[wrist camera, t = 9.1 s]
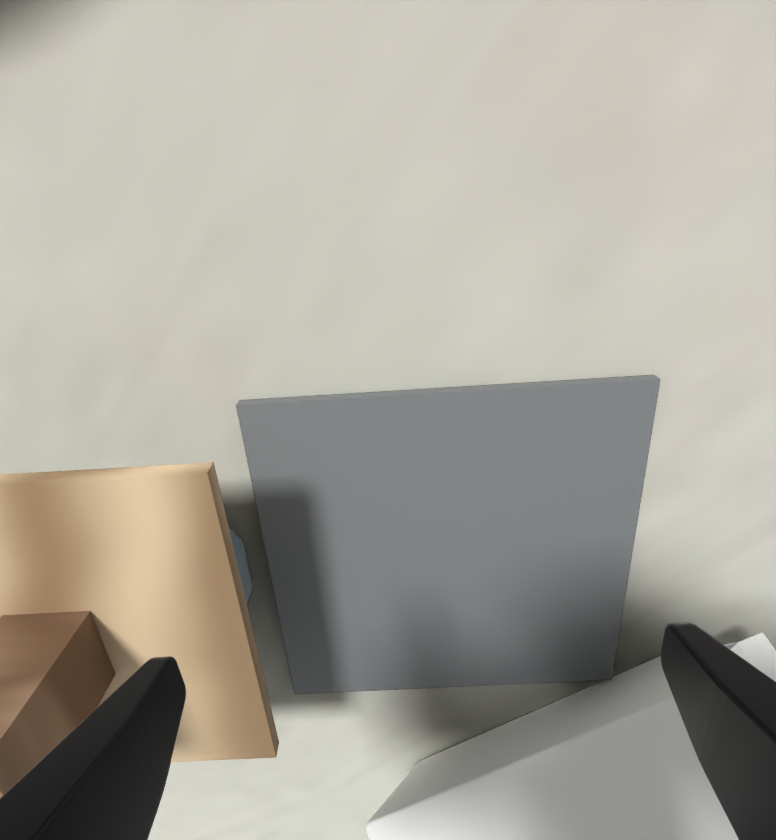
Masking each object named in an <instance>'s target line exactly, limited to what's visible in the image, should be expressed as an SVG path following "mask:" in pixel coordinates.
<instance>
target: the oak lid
mask: <svg viewBox="0 0 776 840" xmlns="http://www.w3.org/2000/svg"><path fill="white" fill-rule="evenodd" d="M166 656H171V657H174V658H175V659H176V661H177V664H178V667H179V669H180V672H181V675H182V678H183V680H184V683H185V687H186V699H185V704H184V708H183V712H182V717H181V721H180V725H179V729H178V734H177V738H176V742H175V746H174V751H173V755H172V759H171V762H182V761H205V760H228V759H252V758H275V757H276V755H277V750H278V745H279V741H278V736H277V732H276V728H275V723H274V719H273V715H272V711H271V706H270V702H269V698H268V693H267V689H266V685H265V681H264V676H263V672H262V668H261V664H260V659H259V655H258V651H257V646H256V642H255V638H254V634H253V629H252V625H251V621H250V616H249V612H248V608H247V604H246V599H245V595H244V591H243V586H242V582H241V578H240V574H239V569H238V565H237V561H236V557H235V552H234V548H233V544H232V539H231V535H230V531H229V527H228V522H227V518H226V514H225V509H224V505H223V501H222V497H221V492H220V488H219V484H218V479H217V475H216V471H215V467H214V462H211V463H193V464H176V465H159V466H142V467H124V468H107V469H90V470H73V471H55V472H38V473H21V474H4V475H0V798H1V797H2V796H3V795H4V794H5V793H6V792H7V791H8V790H9V789H11V788H12V787H13V786H14V785H15V784H16V783H17V782H18V781H19V780H20V779H21V778H22V777H23V776H24V775H26V774H27V773H28V772H29V771H30V770H31V769H32V768H33V767H34V766H35V765H36V764H37V763H38V762H39V761H41V760H42V759H43V758H44V757H45V756H46V755H47V754H48V753H49V752H50V751H51V750H52V749H53V748H54V747H56V746H57V745H58V744H59V743H60V742H61V741H62V740H63V739H64V738H65V737H66V736H67V735H68V734H69V733H71V732H72V731H73V730H74V729H75V728H76V727H77V726H78V725H79V724H80V723H81V722H82V721H83V720H84V719H86V718H87V717H88V716H89V715H90V714H91V713H92V712H93V711H94V710H95V709H96V708H97V707H98V706H99V705H101V704H102V703H103V702H104V701H105V700H106V699H107V698H108V697H109V696H110V695H111V694H112V693H113V692H114V691H116V690H117V689H118V688H119V687H120V686H121V685H122V684H123V683H124V682H125V681H126V680H127V679H128V678H129V677H131V676H132V675H133V674H134V673H135V672H136V671H137V670H138V669H139V668H140V667H141V666H142V665H143V664H144V663H146V662H147V661H148V660H149V659H151V658H154V657H166Z"/></svg>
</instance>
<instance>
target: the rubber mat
mask: <svg viewBox="0 0 776 840" xmlns="http://www.w3.org/2000/svg"><path fill="white" fill-rule="evenodd" d="M659 385H660V379H659V378H658V377H657V376H655V375H643V376H626V377H610V378H594V379H577V380H561V381H545V382H529V383H512V384H496V385H480V386H463V387H447V388H431V389H415V390H398V391H382V392H366V393H349V394H333V395H317V396H300V397H284V398H268V399H252V400H239V402H238V403H237V405H236V407H237V412H238V417H239V422H240V427H241V432H242V437H243V442H244V447H245V452H246V457H247V462H248V466H249V471H250V476H251V481H252V486H253V491H254V496H255V501H256V506H257V511H258V516H259V521H260V526H261V531H262V536H263V540H264V545H265V550H266V555H267V560H268V565H269V570H270V575H271V580H272V585H273V590H274V595H275V600H276V605H277V609H278V614H279V619H280V624H281V629H282V634H283V639H284V644H285V649H286V654H287V659H288V664H289V669H290V674H291V678H292V683H293V688H294V693H295V694H312V693H333V692H355V691H376V690H398V689H419V688H441V687H463V686H484V685H506V684H527V683H549V682H570V681H592V680H612V674H613V668H614V662H615V656H616V650H617V644H618V637H619V631H620V625H621V619H622V613H623V607H624V600H625V594H626V588H627V582H628V576H629V570H630V563H631V557H632V551H633V545H634V539H635V533H636V527H637V520H638V514H639V508H640V502H641V496H642V490H643V483H644V477H645V471H646V465H647V459H648V453H649V446H650V440H651V434H652V428H653V422H654V416H655V410H656V403H657V397H658V391H659Z"/></svg>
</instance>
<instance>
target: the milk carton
mask: <svg viewBox="0 0 776 840" xmlns="http://www.w3.org/2000/svg"><path fill="white" fill-rule="evenodd" d="M723 645H725V646H726V647H727V648H729V649H730V650H732V651H733V652H735V653H736V654H737V655H739V656H740V657H742V658H743V659H744V660H746V661H747V662H749V663H750V664H752V665H753V666H754V667H756V668H757V669H759V670H760V671H761V672H763V673H764V674H766V675H767V676H769V677H770V678H771V679H773V680H774V681H776V650H775V649H774V647H773V646H772V644H771V643H770V642H769V640H768V639H767V637H766V636H765V635H764V634H763V633H762V632H760V633H758V634H756V635H753V636H751V637H749V638H746V639H744V640H742V641H739V642H736V643H730V644H723ZM366 831H367V834H368V837H369V840H739V839H738V837H737V835H736V833H735V831H734V829H733V827H732V825H731V823H730V821H729V819H728V817H727V816H726V814H725V812H724V810H723V808H722V806H721V804H720V802H719V800H718V798H717V796H716V794H715V792H714V790H713V788H712V786H711V784H710V782H709V780H708V778H707V776H706V774H705V772H704V770H703V768H702V766H701V764H700V762H699V760H698V757H697V755H696V752H695V750H694V748H693V745H692V743H691V740H690V738H689V735H688V733H687V730H686V728H685V725H684V723H683V720H682V717H681V715H680V712H679V710H678V707H677V705H676V702H675V700H674V697H673V695H672V692H671V690H670V687H669V685H668V682H667V679H666V677H665V674H664V672H663V669H662V665H661V656H659V657H657V658H655V659H652V660H650V661H648V662H645V663H643V664H641V665H639V666H636V667H634V668H632V669H629V670H627V671H625V672H623V673H620V674H618V675H616V676H613V677H612V680H604V681H602V682H600V683H597V684H595V685H593V686H590V687H588V688H586V689H584V690H581V691H579V692H577V693H574V694H572V695H570V696H568V697H565V698H563V699H561V700H558V701H556V702H554V703H551V704H549V705H547V706H545V707H542V708H540V709H538V710H535V711H533V712H531V713H529V714H526V715H524V716H522V717H519V718H517V719H515V720H513V721H510V722H508V723H506V724H503V725H501V726H499V727H497V728H494V729H492V730H490V731H487V732H485V733H483V734H480V735H478V736H476V737H474V738H471V739H469V740H467V741H464V742H462V743H460V744H458V745H455V746H453V747H451V748H448V749H446V750H444V751H442V752H439V753H437V754H435V755H432V756H430V757H428V758H425V759H423V760H421V761H419V762H418V763H417V765H416V766H415V767H414V768H413V769H412V771H411V772H410V773H409V774H408V775H407V776H406V778H405V779H404V780H403V781H402V782H401V784H400V785H399V786H398V787H397V788H396V789H395V791H394V792H393V793H392V794H391V795H390V797H389V798H388V799H387V800H386V801H385V802H384V804H383V805H382V806H381V807H380V808H379V810H378V811H377V812H376V813H375V814H374V815H373V817H372V818H371V819H370V820H369V821H368V823H367V824H366Z"/></svg>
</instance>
